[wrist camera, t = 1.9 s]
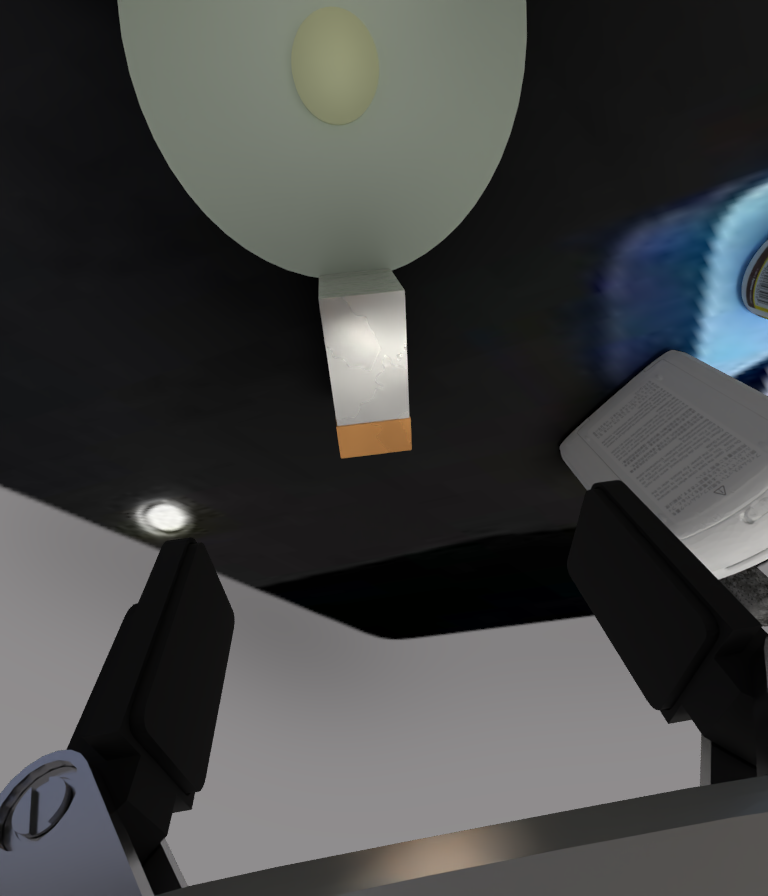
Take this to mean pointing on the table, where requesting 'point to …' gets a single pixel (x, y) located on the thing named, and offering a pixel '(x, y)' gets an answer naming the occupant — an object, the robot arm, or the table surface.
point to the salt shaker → (750, 591)
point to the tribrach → (329, 117)
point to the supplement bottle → (757, 283)
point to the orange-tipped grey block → (367, 360)
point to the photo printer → (686, 457)
